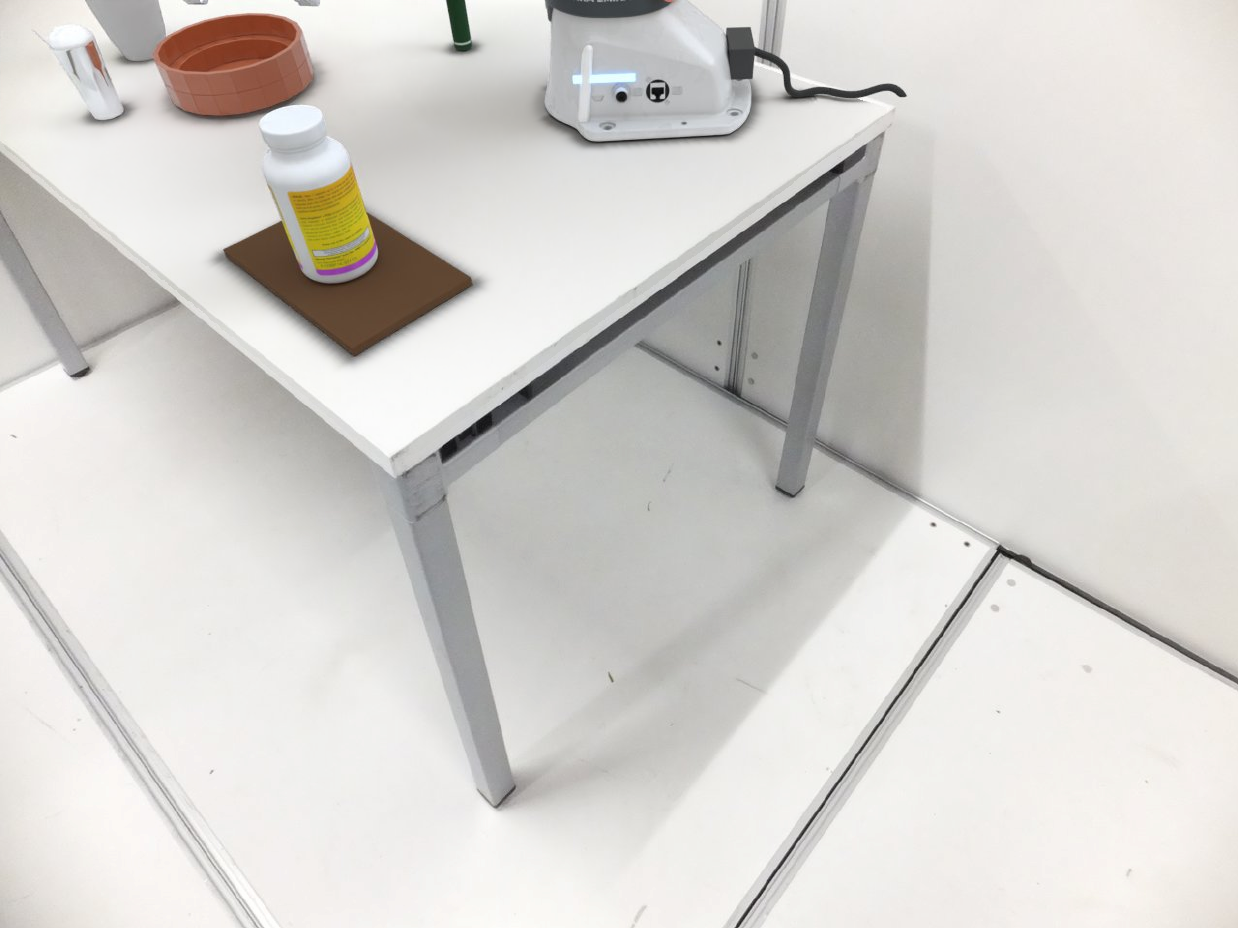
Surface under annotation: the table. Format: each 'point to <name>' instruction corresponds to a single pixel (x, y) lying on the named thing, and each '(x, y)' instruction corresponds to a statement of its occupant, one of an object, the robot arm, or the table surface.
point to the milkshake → (85, 69)
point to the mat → (354, 285)
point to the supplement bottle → (316, 195)
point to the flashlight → (459, 24)
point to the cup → (131, 25)
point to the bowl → (234, 63)
